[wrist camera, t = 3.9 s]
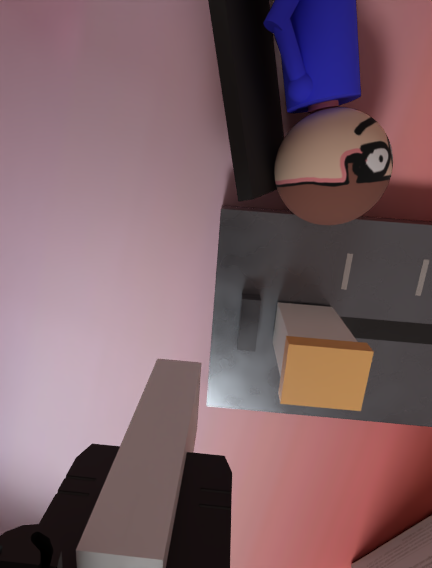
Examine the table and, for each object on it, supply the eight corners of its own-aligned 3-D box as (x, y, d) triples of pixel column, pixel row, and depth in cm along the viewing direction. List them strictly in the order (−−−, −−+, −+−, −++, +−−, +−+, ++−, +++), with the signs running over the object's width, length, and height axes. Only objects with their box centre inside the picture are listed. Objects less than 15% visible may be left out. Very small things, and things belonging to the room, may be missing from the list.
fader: (268, 344, 21) (280, 403, 16) (274, 298, 20) (288, 344, 15) (328, 349, 21) (360, 411, 15) (336, 303, 20) (373, 351, 15)
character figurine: (342, -120, 17) (354, 208, 21) (185, -95, 17) (229, 227, 21) (453, -358, 9) (436, 227, 14) (170, -309, 9) (243, 256, 14)
